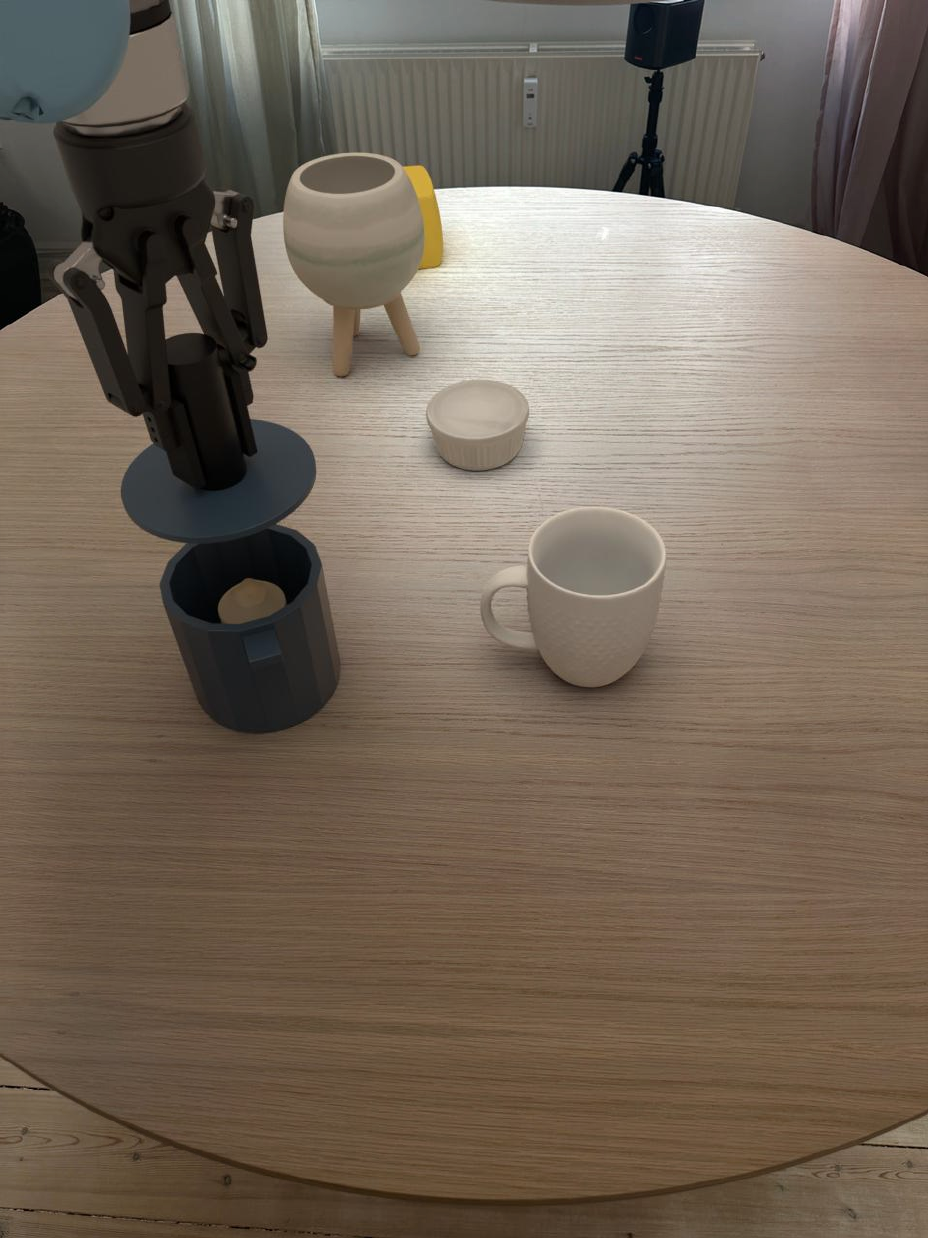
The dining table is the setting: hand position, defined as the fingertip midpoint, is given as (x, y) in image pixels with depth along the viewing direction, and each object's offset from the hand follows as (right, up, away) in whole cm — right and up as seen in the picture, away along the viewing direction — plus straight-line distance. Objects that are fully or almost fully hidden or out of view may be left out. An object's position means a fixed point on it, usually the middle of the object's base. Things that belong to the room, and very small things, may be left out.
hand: (215, 462), depth 69 cm
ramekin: (+19, +8, +40) cm, 45 cm away
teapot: (+8, +42, +74) cm, 86 cm away
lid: (0, -1, +1) cm, 2 cm away
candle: (+1, -16, +17) cm, 23 cm away
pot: (0, -16, +17) cm, 24 cm away
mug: (+28, -15, +18) cm, 36 cm away
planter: (+6, +22, +55) cm, 60 cm away
